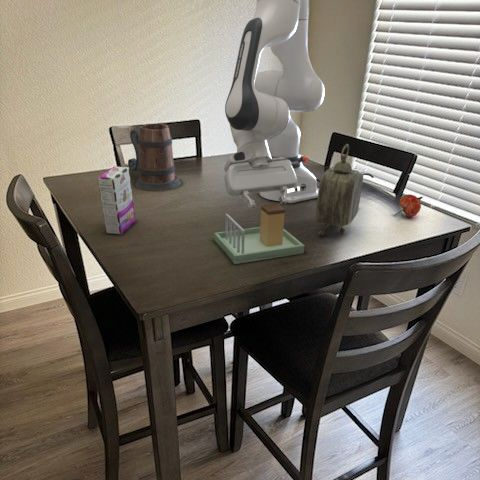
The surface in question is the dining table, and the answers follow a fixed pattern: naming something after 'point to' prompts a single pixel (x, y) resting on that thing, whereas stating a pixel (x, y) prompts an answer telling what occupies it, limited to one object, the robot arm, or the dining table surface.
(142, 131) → the tankard
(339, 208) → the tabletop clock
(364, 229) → the dining table surface
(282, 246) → the dish rack
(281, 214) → the kraft box
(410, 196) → the pomegranate
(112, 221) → the candy bar box
